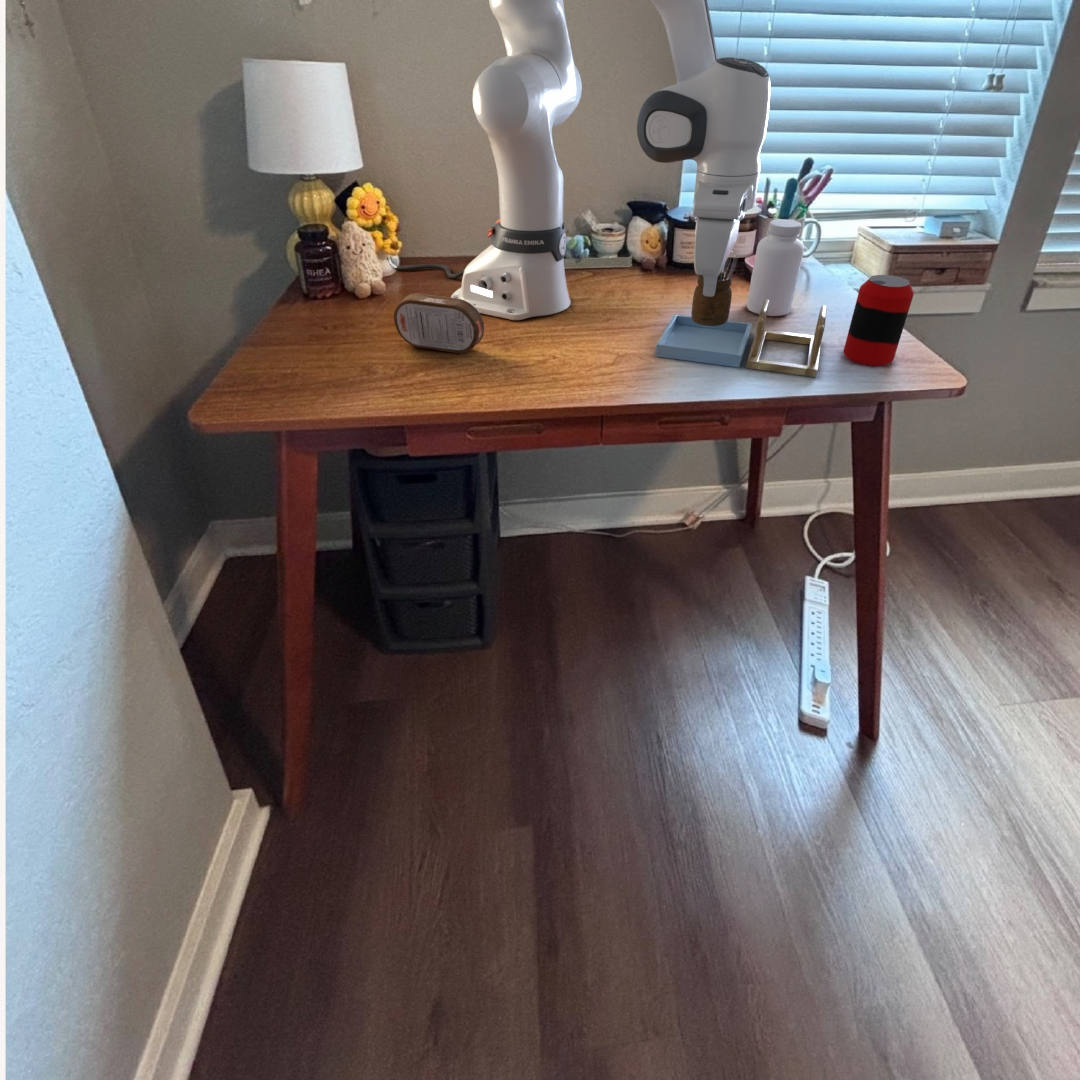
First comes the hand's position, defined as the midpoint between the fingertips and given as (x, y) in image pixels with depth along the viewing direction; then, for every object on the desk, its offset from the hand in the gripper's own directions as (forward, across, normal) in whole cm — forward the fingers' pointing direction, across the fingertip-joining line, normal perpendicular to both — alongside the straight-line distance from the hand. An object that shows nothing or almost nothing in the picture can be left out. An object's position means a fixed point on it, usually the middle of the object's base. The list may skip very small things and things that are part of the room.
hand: (712, 288), depth 113 cm
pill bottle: (+10, -20, +8) cm, 24 cm away
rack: (+9, 0, +13) cm, 16 cm away
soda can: (+10, -4, +25) cm, 27 cm away
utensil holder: (+5, 0, 0) cm, 5 cm away
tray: (+9, 0, 0) cm, 9 cm away
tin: (+9, +16, -41) cm, 45 cm away
